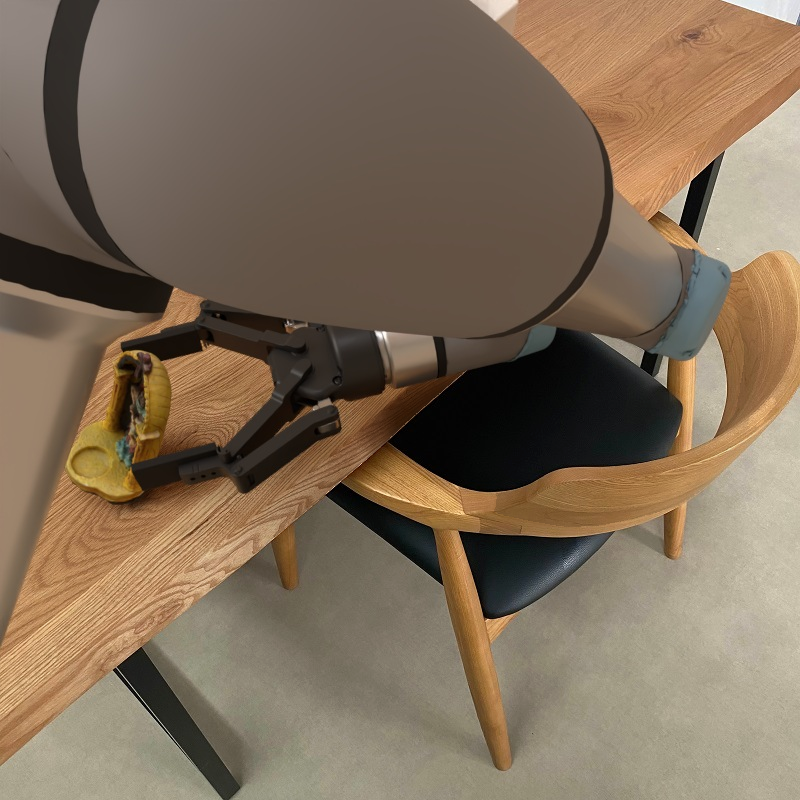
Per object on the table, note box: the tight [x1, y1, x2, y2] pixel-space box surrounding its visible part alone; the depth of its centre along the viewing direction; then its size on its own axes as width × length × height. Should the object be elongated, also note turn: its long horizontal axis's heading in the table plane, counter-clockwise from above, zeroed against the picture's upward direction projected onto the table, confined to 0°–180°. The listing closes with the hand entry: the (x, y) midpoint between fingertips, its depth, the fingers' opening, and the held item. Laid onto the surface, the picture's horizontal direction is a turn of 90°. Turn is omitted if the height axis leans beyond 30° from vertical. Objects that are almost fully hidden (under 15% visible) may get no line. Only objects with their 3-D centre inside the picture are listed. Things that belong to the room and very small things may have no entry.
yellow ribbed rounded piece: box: [64, 350, 173, 506], centre depth 66 cm, size 12×8×15 cm
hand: (130, 413), depth 66 cm, fingers open, 13 cm apart
